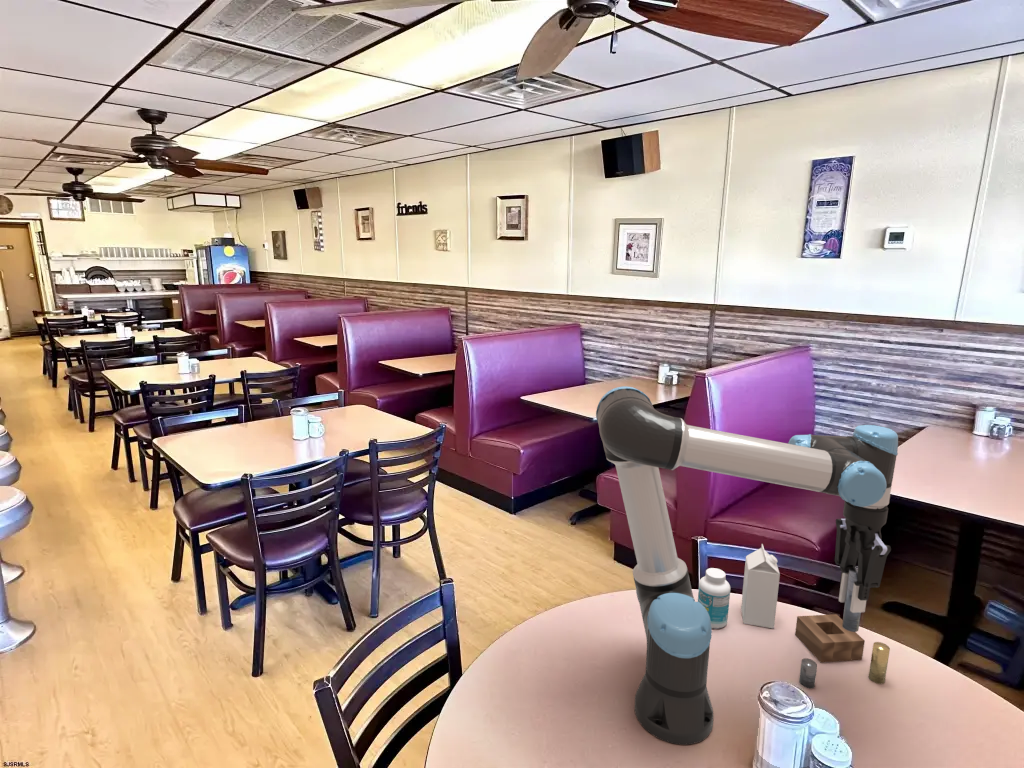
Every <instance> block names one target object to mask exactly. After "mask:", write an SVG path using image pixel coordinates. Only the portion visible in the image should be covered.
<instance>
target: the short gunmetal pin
mask: <svg viewBox="0 0 1024 768" xmlns="http://www.w3.org/2000/svg"><path fill="white" fill-rule="evenodd" d="M800 662H801V663H800V670H799V679H798V683H799V685H801V686H802V687H804V688H806V689H814V688H815V686H816V679H817V671H818V670H817V669H818V663H817V662H816V661H815V660H813V659H810V658H807V657H805V658H802V659H801V660H800Z"/></svg>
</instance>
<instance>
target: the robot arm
mask: <svg viewBox="0 0 1024 768" xmlns="http://www.w3.org/2000/svg"><path fill="white" fill-rule="evenodd" d="M595 416H596V417H595V418H596V421H597V423H598V428H599V435H600V438H601V439H600V440H601V441H602V445H603V450H604V453H605V458H606V460H607V461H608V462H610V463H611V464H614V465H615V469H616V474H617V478H618V483H619V488H620V491H621V496H622V501H623V505H624V509H625V513H626V519H627V524H628V528H629V531H630V536H631V541H632V546H633V549H634V555H635V558H636V563H637V564H636V565H635V566H634V568H633V569H632V578H633V581H634V586H635V593H636V596H637V597H636V598H637V601H638V603H639V608H640V612H641V617H642V623H643V626H644V633H645V639H646V654H645V655H646V656H645V658H646V659H645V673H644V675H643V677H642V679H641V681H640V683H639V686H638V688H637V690H636V692H635V695H634V712H635V717H636V718H637V720H638V722H639V724H640V725H641V726H642V728H644V729H645V730H646V731H647V732H648V733H650V734H651V735H653V736H654V737H655V738H657V739H659V740H661V741H663V742H667V743H670V744H675V745H685V746H686V745H693V744H696V743H699V742H702V741H704V740H705V739H707V738H708V736H709V735H710V734H711V733H712V730H713V726H714V709H713V705H712V702H711V698H710V694H709V690H708V687H707V682H708V681H707V680H708V670H709V661H710V660H709V658H710V645H711V640H712V636H713V635H712V628H711V620H710V616H709V614H708V612H707V610H706V609H705V607H704V606H703V605H702V604H701V603H700V602H698V601H696V600H695V598H694V597H695V596H694V593H693V590H692V585H691V584H692V583H691V581H690V575H689V570H688V567H687V566H688V565H687V564H686V562H685V561H684V560H682V559H681V558H679V557H678V553H677V549H676V544H675V540H674V536H673V535H674V534H673V530H672V524H671V521H670V516H669V511H668V507H667V502H666V497H665V492H664V488H663V482H662V479H661V473H660V468H661V469H666V470H670V471H674V470H675V469H677V468H678V467H684V468H685V467H686V468H691V469H696V470H701V471H707V472H711V473H716V474H721V475H728V476H731V477H736V478H737V477H738V478H743V479H748V480H753V481H760V482H765V483H770V484H775V485H780V486H784V487H785V486H786V487H791V488H796V489H801V490H807V491H813V492H817V493H823V494H827V495H833V496H838V497H840V499H842V500H843V501H844V503H843V504H844V505H843V512H842V514H843V517H844V518H836V519H835V526H836V527H835V528H836V537H835V550H834V551H835V554H834V555H835V556H834V562H835V564H836V565H839V570H840V581H839V583H840V588H839V595H838V602H840V603H845V599H846V592H847V584H848V576H849V569H850V568H856V566H857V568H858V581H857V582H854V586H853V593H852V600H851V607H850V611H851V612H852V613H857V612H861V613H865V612H866V606H867V601H868V600H869V598H870V597H869V596H870V590H871V588H880V587H881V583H882V579H883V574H884V569H885V566H886V565H885V564H886V561H887V557H888V555H889V554H890V552H891V551H892V548H891V545H888V544H885V543H884V542H883V541H882V532H881V530H882V528H883V526H885V525H886V524H887V520H888V514H889V507H888V505H889V504H890V499H891V492H892V491H891V490H892V486H893V480H894V473H895V468H896V461H897V456H898V454H899V453H898V448H899V436H898V434H897V432H896V431H894V430H893V429H891V428H889V427H884V426H879V425H873V424H872V425H871V424H864V425H861V424H860V425H857V426H856V427H855V428H854V431H853V432H852V435H849V436H848V435H847V436H846V435H845V436H843V435H842V436H841V435H820V434H817V435H816V434H811V433H809V434H795V435H793V436H792V437H791V438H789V441H788V442H780V441H777V440H776V441H775V440H770V439H765V438H759V437H756V436H755V437H754V436H749V435H742V434H738V433H732V432H727V431H723V430H722V431H720V430H717V429H712V428H711V429H710V428H705V427H700V426H695V425H690V424H687V423H686V422H685V420H684V419H683V418H681V417H676V416H671V415H668V414H665V413H663V412H659V411H658V410H656V409H655V408H654V406H653V403H652V401H651V400H650V397H649V396H648V395H647V394H646V393H644V392H643V391H641V390H640V389H637V388H635V387H632V386H618V387H615V388H612V389H610V390H608V391H607V392H606V393H605V394H603V396H602V397H601V398H600V400H599V402H598V405H597V407H596V411H595Z"/></svg>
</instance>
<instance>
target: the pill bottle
mask: <svg viewBox="0 0 1024 768" xmlns="http://www.w3.org/2000/svg"><path fill="white" fill-rule="evenodd" d="M726 575H727V574H726V572H725V571H723V570H722V569H720V568H714V567H710V568H707V569H705V576H703V577H701V578H700V579H699V582H698V595H697V602H700V603H701V604H702V605H703V606H704V607H705V609H706V610H707V612H708V614H709V616H710V620H711V629H717V630H718V629H723V628H725V627H726V626H727V624H728V620H729V609H730V608H729V607H730V597H731V585H730V583H729V582H728V581H727V579H726Z"/></svg>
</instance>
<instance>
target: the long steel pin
mask: <svg viewBox="0 0 1024 768" xmlns="http://www.w3.org/2000/svg"><path fill="white" fill-rule="evenodd" d="M857 581H858V567H855V568H850V569H849V576H848V584H847V592H846V599H845V602H844V607H843V608H844V609H843V616H842V620H843V622H842V626H843V628H844V629H846V630H848V631H851V632H856V633H857V632H859V629H860V622H861V614H862V612H857V613H852V612H851V611H850V607H851V600H852V593H853V586H854V582H857Z"/></svg>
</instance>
